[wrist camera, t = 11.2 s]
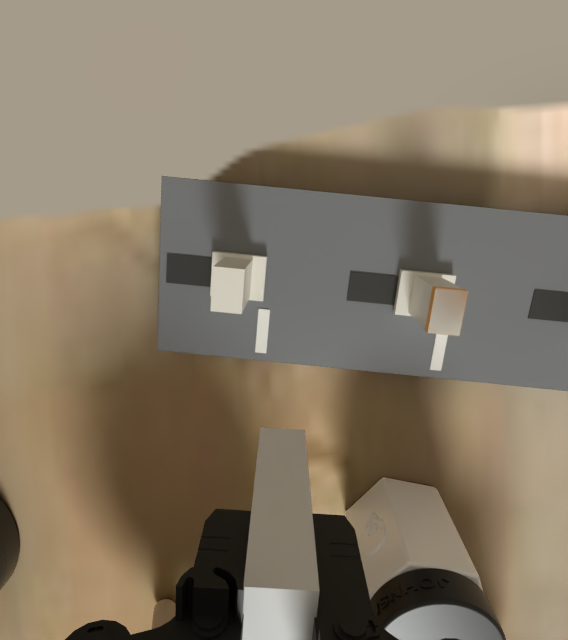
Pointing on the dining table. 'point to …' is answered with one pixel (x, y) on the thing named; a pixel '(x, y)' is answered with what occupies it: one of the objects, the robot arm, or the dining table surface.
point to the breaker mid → (431, 301)
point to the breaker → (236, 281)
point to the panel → (366, 282)
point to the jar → (419, 566)
